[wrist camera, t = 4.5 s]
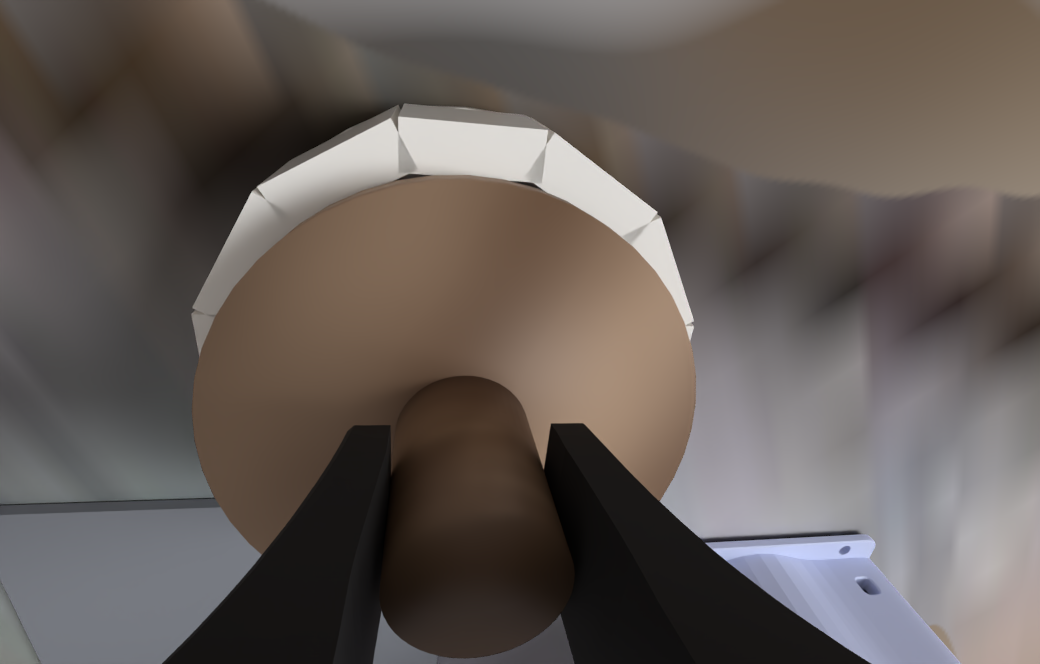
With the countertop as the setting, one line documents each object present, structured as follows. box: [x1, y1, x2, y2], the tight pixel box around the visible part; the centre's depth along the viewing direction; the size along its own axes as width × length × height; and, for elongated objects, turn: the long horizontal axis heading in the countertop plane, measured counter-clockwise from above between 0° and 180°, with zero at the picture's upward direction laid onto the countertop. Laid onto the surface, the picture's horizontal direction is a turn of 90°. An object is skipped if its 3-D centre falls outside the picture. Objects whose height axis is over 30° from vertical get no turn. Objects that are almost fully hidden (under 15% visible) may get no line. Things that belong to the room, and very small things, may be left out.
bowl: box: [191, 104, 694, 357], centre depth 14 cm, size 11×11×4 cm
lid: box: [192, 175, 696, 658], centre depth 10 cm, size 10×10×5 cm
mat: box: [0, 499, 437, 664], centre depth 20 cm, size 14×10×1 cm
